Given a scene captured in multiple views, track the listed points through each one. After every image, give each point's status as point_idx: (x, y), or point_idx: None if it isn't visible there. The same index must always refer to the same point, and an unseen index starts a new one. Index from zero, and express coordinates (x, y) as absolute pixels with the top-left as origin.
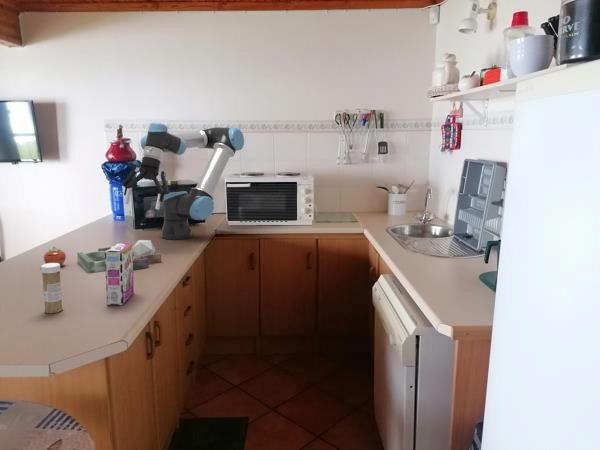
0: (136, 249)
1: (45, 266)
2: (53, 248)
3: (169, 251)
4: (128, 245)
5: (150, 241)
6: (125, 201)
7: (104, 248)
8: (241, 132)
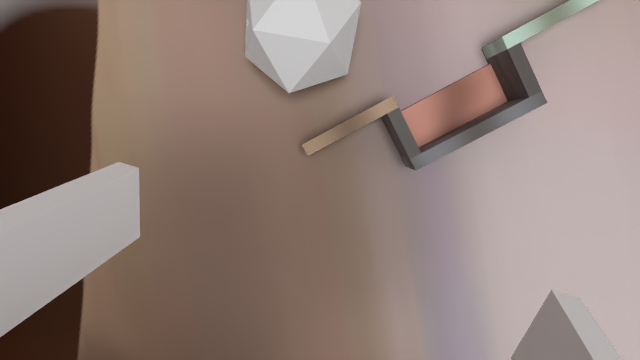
0: None
1: None
2: None
3: (209, 190)
4: None
5: (253, 22)
6: (576, 313)
7: (515, 105)
8: None
